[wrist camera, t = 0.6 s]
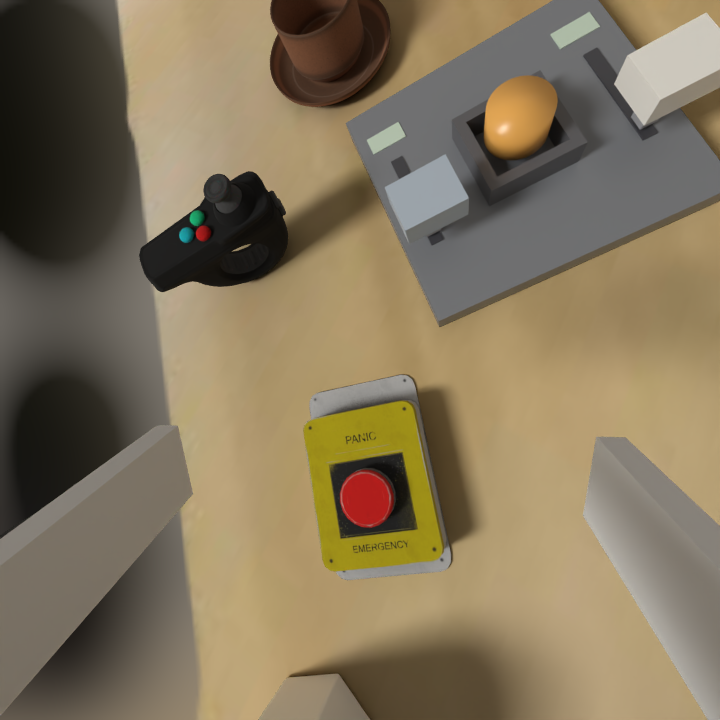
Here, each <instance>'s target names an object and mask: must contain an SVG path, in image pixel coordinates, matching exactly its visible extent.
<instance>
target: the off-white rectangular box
mask: <svg viewBox="0 0 720 720" xmlns="http://www.w3.org/2000/svg"><path fill="white" fill-rule="evenodd" d="M614 85H615V86H616V87H617V89H618V90H619V92H620V93H621V94H622V96H623V97H624V99H625V100H626V101H627V103H628V104H629V106H630V107H631V108H632V110H633V111H634V112H633V114H632V116H631V118H632V119H633V121H634V122H635V123H636V125H637V126H638V128H639V129H640V130H641V129H643V128H645V127H647V126H649V125H651V124H653V123H655V122H657V121H658V120H659V119H660V118H661V117H663V116H665V115H667V114H669V113H670V112H672V111H674V110H676V109H678V108H680V107H682V106H684V105H686V104H688V103H690V102H692V101H694V100H696V99H698V98H700V97H702V96H704V95H706V94H708V93H710V92H712V91H714V90H716V89H718V88H720V28H719V27H718V26H717V25H716V23H715V22H714V21H713V20H712V19H711V18H710V16H709V15H708V14H707V13H704V14H703V15H701V16H699V17H697V18H695V19H693V20H692V21H690V22H688V23H686V24H684V25H682V26H680V27H679V28H677V29H675V30H673V31H671V32H669V33H668V34H666V35H664V36H662V37H660V38H658V39H657V40H655V41H653V42H651V43H649V44H647V45H645V46H644V47H642V48H640V49H638V50H636V51H634V52H633V53H631V54H629V55H627V57H626V59H625V62H624V64H623V66H622V68H621V70H620V72H619V75H618V77H617V79H616V81H615V83H614Z"/></svg>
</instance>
